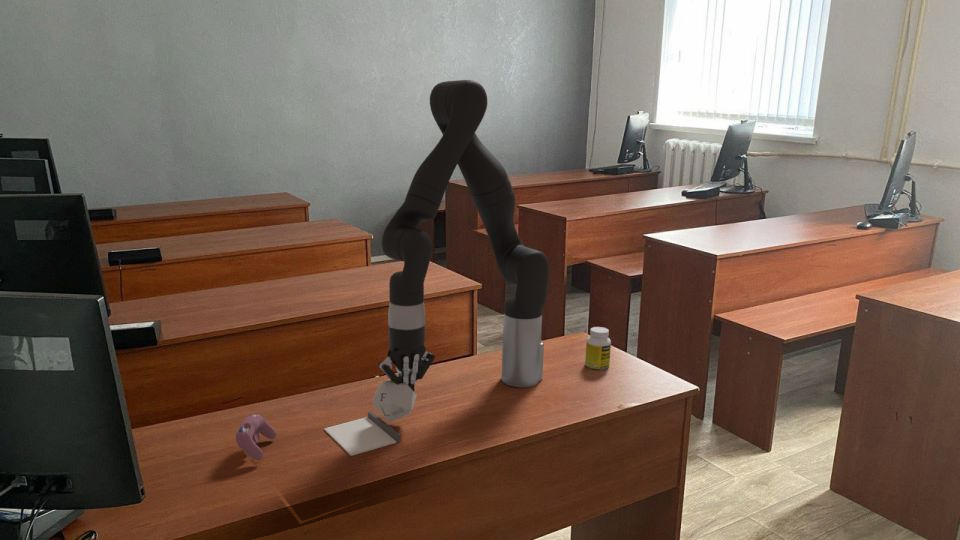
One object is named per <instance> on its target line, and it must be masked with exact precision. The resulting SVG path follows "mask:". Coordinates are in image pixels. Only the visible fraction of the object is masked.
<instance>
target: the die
mask: <svg viewBox="0 0 960 540" xmlns="http://www.w3.org/2000/svg"><path fill="white" fill-rule="evenodd" d="M417 396H418V395H417V394H416V392H415V390H414V391H413V390H412V389H411V388H410V387H409V386H408V385H407V384H403V383H401V384H398V385H397V384H396V383H395V382H393V381H392V380H390V379H387V380H383V382H382V383H381V384H379V385H378V386H377V388H376V391H375V393H374V395H373V398H372V402H371V404H372V406H373V407H374V408H375V409H376V410H377V411H378V413H380V414H381V415H382V416H383V418H384V419H386V421H388V422H390V423H391V422H393V421H396V420H398V419H402V418H404V417H406V416H408V415H409V414H410V413H412V412H413V409H414V405H415V403H416V399H417Z"/></svg>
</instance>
